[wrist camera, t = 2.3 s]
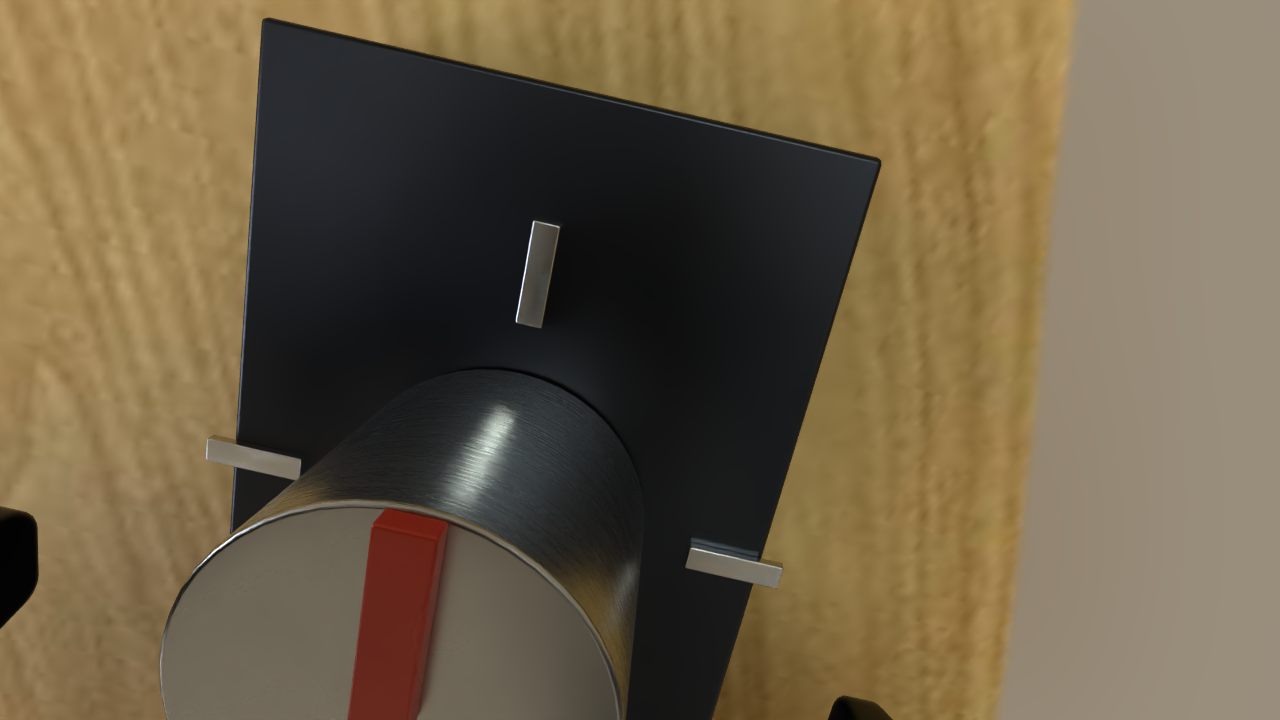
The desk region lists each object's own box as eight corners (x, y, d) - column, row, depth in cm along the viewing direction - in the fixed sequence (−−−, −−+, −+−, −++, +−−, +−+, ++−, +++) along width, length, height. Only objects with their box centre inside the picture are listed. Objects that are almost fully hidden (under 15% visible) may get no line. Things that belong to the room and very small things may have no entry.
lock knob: (611, 665, 11) (569, 967, 7) (335, 603, 11) (128, 870, 7) (675, 406, 10) (672, 587, 6) (366, 336, 10) (136, 465, 6)
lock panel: (684, 733, 15) (685, 878, 12) (289, 645, 15) (190, 769, 12) (852, 163, 12) (912, 164, 9) (345, 47, 12) (227, 6, 9)
